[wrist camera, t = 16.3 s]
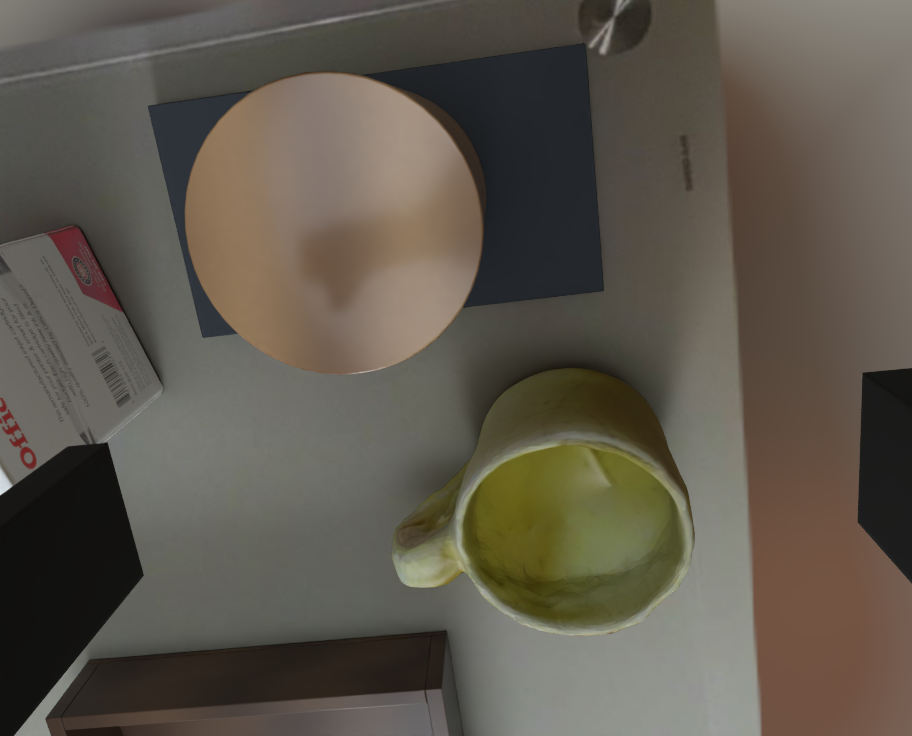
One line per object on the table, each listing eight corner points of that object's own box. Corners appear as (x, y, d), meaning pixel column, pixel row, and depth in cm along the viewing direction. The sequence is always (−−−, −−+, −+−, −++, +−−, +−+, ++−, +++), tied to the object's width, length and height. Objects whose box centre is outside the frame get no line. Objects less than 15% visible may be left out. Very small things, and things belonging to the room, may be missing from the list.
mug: (686, 316, 32) (698, 487, 25) (686, 489, 38) (696, 671, 31) (410, 326, 36) (343, 481, 28) (449, 485, 42) (403, 648, 34)
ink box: (-11, 256, 35) (-248, 320, 24) (82, 219, 34) (-117, 266, 23) (81, 423, 37) (-96, 553, 26) (170, 391, 37) (27, 511, 25)
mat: (583, 45, 31) (585, 42, 30) (600, 286, 34) (604, 291, 33) (157, 106, 33) (147, 105, 32) (209, 332, 36) (202, 338, 35)
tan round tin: (472, 71, 31) (463, 49, 21) (497, 291, 34) (499, 358, 24) (254, 102, 32) (151, 94, 22) (296, 314, 34) (220, 389, 25)
